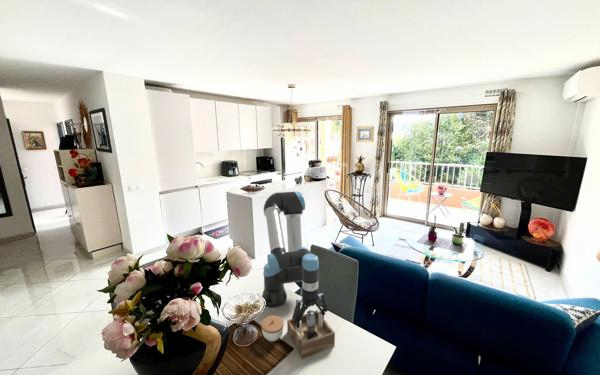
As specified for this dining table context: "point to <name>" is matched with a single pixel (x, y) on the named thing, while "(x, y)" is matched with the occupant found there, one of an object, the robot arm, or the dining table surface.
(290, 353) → the dining table surface
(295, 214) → the robot arm
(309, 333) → the peg
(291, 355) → the dining table surface
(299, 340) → the box
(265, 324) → the lidded jar
